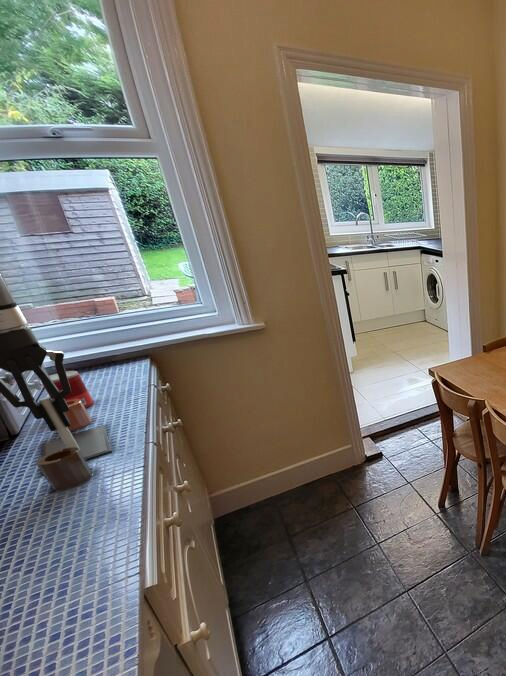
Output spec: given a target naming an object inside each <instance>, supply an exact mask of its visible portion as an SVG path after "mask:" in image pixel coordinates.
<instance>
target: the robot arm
mask: <svg viewBox="0 0 506 676" xmlns="http://www.w3.org/2000/svg"><path fill="white" fill-rule="evenodd" d="M2 276H3V275H2V274H1V273H0V369H1V370H3V371H5V372H8V373H10V374H11V375H12V377H13V379H14V380H15V383H16V385H17V387H18V389H19V392H20V394H21V396H22V399H21V398H20V397H19V396H18V395H17V394H16V393H15V392H14V391H13V390H12V388H11V387H9V385H8V383H6V382H5V381H4V380H3V378H1V377H0V394H1V395H2V396H3V397H4V398H5V399H6V400H7V401H8V402H9V404H11V406H13V408H27V409H29V411H30V412H31V414H32V416H33V417H34V419H36V420H41V419H43V421H44V422H45V424H46V426H47V427H48V429H49V430H50V432H55V431H57V430H56V428H55V427H54V425H53V423H52V422H51V420H50V418H49V417H48V415H47V413H46V411H45V410H44V408H43V406H42V405H41V403H40V402H39V401H38V402H36V399H35V397H34V395H33V393H32V391H31V388H30V386H29V383H28V382H27V380H26V377H25V375H24V373H25V372H28V371H29V372H31V371H33V373H34V374H35V375H36V376H37V377H38V379H39V380H40V382H41V381H42V382H41V384H42V383H43V384H44V385H45V387H46V388H47V389H48V391H49V392H50V393H51V395H52V396H53V397H54V399H51V400H52V404H53V406H54V407H55V409H56V411H57V412H58V414H59V416H60V418H61V419H62V421H63V423H64V424H65V426H66V427H69V426H71V424H70V421H69V419H68V417H67V416H66V414H65V412H67V411H69V406H68V405H67V403H66V401H65V399H64V397H65V396H66V395H69V394H71V387H70V384H69V381H68V378H67V374H66V371H67V370H66V368H65V366H64V362H63V361H64V359H65V358H64V357H65V352H64V351H62V350H57V351H56V350H48V349H47V348H46V347H44V346H42V344H40V342H39V340H38V339H37V337H36V335H35V333H34V332H33V330H32V328H31V327H30V326H26V325H28V321H27V319H26V317H25V315H24V314H23V312H22V310H21V309H20V306H19V305H18V304H17V302H16V301H15V299H14V297H13V295H12V293H11V291H10V290H9V287H8V285H7V284H6V282H5V280H4V278H3V277H2ZM46 357H49V360H50V361H52V362H54V367H55V371H56V374H57V373H58V376H59V379H60V383H61V386H62V389H63V390H61V391H59V390H58V388H57V387H56V386H55V384H54V383H53V381H52V380H51V379H50V377H49V376H50V375H49V374H48V373H47V372H46V370H45V369H44V367H43V364H44V361H45V359H46ZM43 384H42V385H43Z"/></svg>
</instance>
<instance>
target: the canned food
mask: <svg viewBox="0 0 506 676" xmlns="http://www.w3.org/2000/svg"><path fill="white" fill-rule="evenodd" d="M65 371H66V374H67V378H68V381H69V384H70V387H71V394H69V395H66V396H65V397H64V399H65V401H67V400H73V399H80V400H81V402H82V403H83V405H84V407H85V409H87V408H89V407H92V405H93V404H94V400H93V398H92V396H91V394H90V392H89V390H88V388H87V387H86V384H85V382H84V381H83V379H82V377H81V375H80V373H78V371H77V370H68V371H67V370H65ZM48 376H49V377H50V379H51V380H52V381H53V383H54V384H55V386H56V387H57V388H58V390H59V391H61V390H63V389H62V386H61V383H60V379H59V376H58V373H57V372H56V373H54V374H49V375H48ZM40 382H41V384H42V386H43V388H44V389H45V391H46V393H47V394H48V397H50V398H51V400H52V399H54V397H53V396H52V395H51V393H50V392H49V391H48V389H47V388H46V387H45V385H44V384H43V383H42V381H41V380H40Z"/></svg>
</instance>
